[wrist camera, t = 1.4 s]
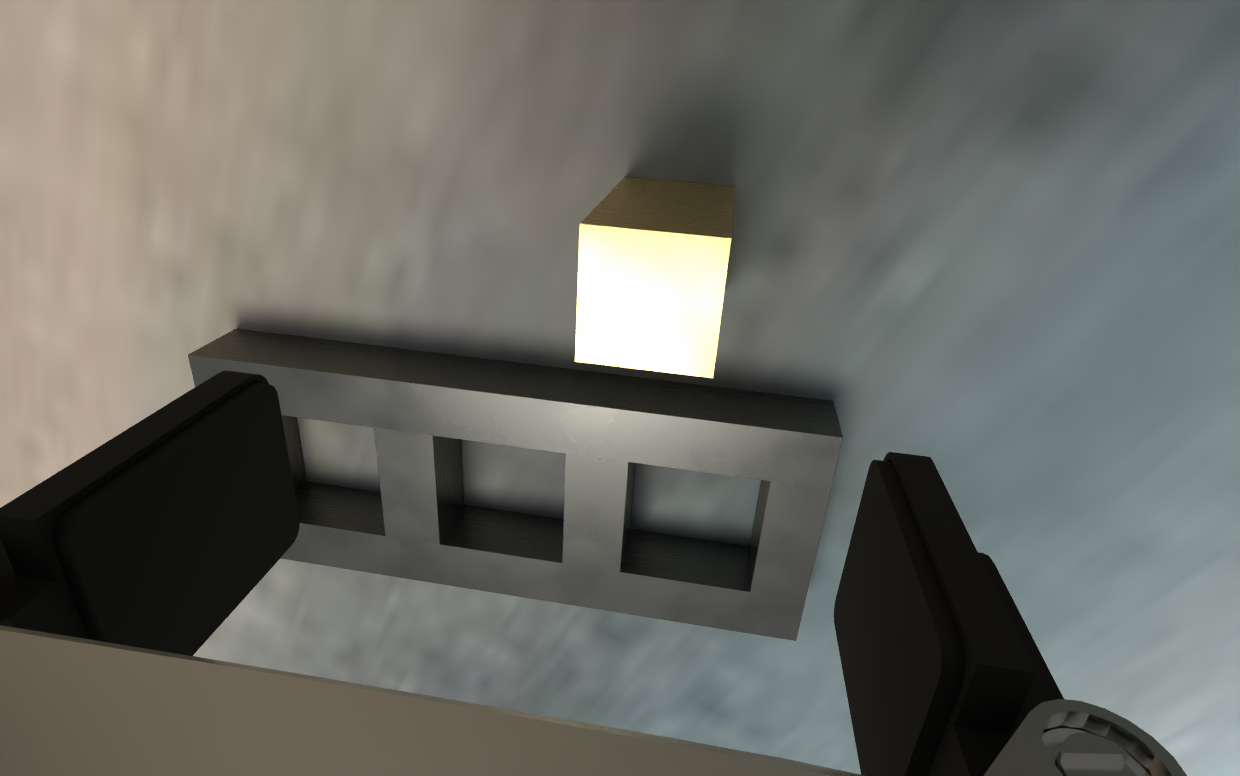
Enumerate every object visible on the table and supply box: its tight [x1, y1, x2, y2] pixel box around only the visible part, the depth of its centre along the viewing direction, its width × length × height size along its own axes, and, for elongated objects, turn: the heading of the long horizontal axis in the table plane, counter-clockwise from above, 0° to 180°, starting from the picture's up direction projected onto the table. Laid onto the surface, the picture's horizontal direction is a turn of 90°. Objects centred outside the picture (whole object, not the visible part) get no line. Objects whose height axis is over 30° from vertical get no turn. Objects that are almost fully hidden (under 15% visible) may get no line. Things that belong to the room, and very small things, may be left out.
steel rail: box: [188, 329, 843, 641], centre depth 30 cm, size 26×10×3 cm, turn 87°
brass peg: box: [575, 177, 734, 378], centre depth 23 cm, size 4×4×8 cm
